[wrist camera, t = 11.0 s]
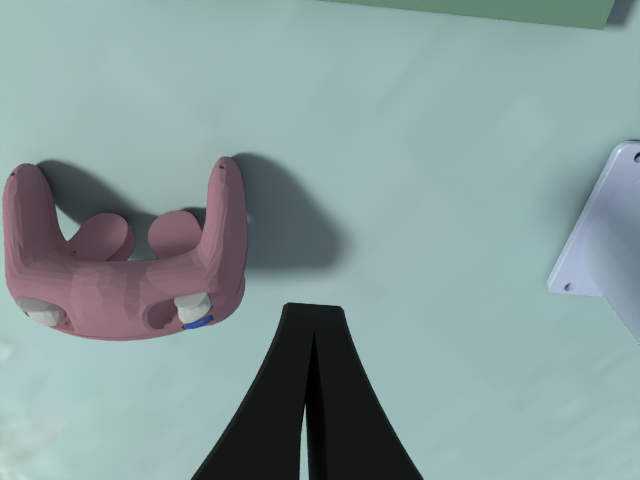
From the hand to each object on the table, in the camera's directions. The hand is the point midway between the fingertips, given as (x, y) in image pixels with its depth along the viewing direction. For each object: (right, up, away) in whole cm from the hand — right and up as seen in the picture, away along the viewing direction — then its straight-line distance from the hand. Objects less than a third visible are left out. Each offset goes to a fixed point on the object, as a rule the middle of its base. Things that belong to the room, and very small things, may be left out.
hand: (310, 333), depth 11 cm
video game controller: (-8, +4, +10) cm, 13 cm away
